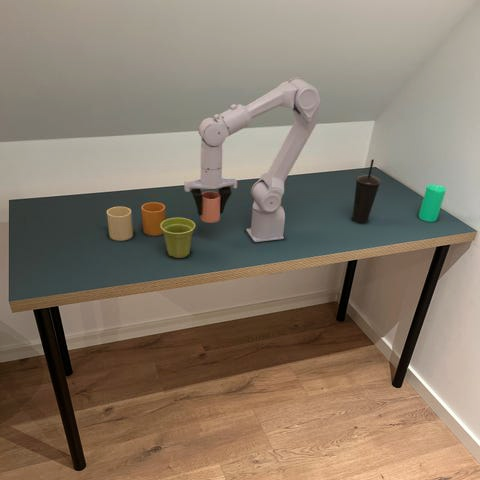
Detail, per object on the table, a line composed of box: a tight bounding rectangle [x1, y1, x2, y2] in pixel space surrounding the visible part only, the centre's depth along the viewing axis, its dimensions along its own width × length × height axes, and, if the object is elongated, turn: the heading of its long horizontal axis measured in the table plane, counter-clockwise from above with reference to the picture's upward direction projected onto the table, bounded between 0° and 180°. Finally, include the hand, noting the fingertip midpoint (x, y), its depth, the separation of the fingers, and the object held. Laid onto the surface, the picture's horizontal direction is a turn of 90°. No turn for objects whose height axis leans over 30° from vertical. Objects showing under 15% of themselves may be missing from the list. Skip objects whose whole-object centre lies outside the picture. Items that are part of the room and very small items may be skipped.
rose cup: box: [199, 190, 221, 224], centre depth 144 cm, size 6×6×7 cm
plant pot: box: [160, 217, 196, 259], centre depth 141 cm, size 9×9×9 cm
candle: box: [418, 183, 447, 222], centre depth 168 cm, size 6×6×12 cm
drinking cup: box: [351, 158, 382, 224], centre depth 161 cm, size 8×8×20 cm
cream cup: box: [106, 206, 134, 242], centre depth 148 cm, size 7×7×8 cm
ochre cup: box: [140, 201, 167, 237], centre depth 151 cm, size 7×7×8 cm
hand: (210, 212), depth 145 cm, fingers closed on rose cup, 5 cm apart
